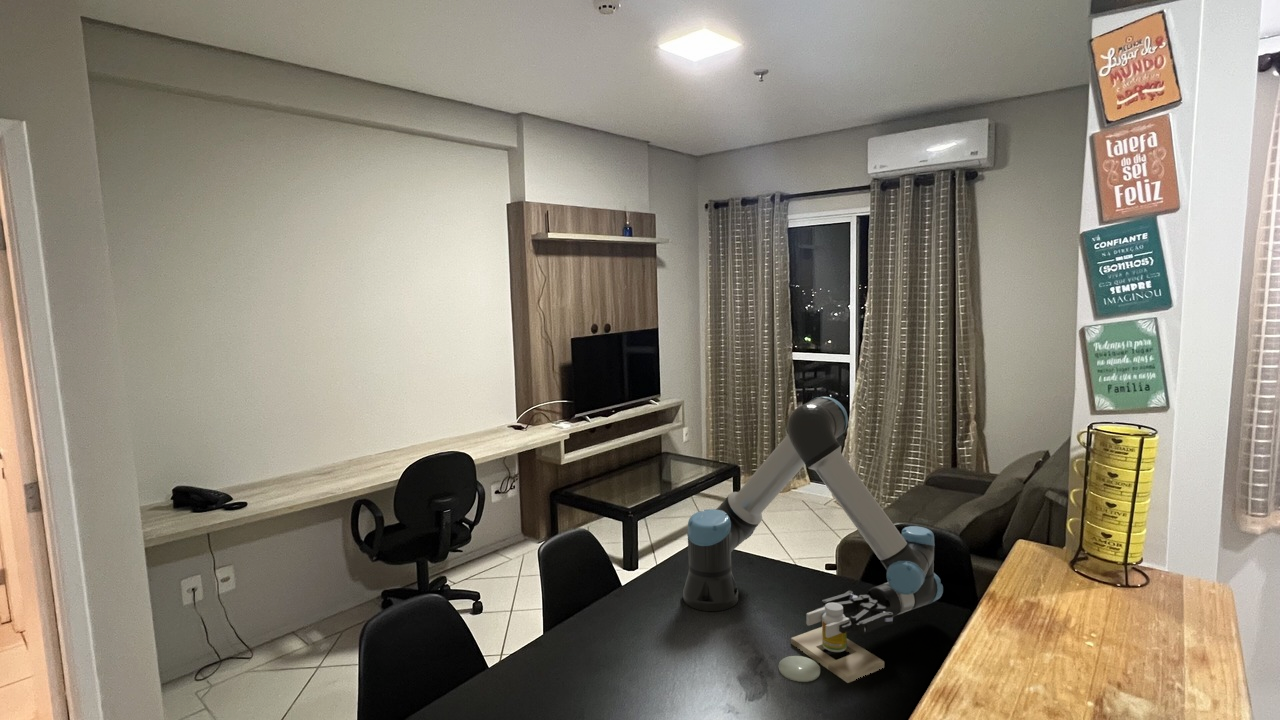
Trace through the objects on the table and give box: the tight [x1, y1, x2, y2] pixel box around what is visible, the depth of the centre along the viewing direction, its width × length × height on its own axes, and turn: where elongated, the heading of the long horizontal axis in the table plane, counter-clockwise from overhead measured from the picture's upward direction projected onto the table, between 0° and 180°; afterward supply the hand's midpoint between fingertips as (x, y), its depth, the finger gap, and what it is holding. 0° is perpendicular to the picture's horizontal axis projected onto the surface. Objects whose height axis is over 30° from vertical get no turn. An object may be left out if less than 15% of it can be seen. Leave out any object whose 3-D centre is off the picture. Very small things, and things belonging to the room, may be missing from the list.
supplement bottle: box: [821, 602, 848, 653], centre depth 147 cm, size 5×5×10 cm
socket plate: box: [790, 626, 885, 684], centre depth 148 cm, size 18×11×2 cm, turn 28°
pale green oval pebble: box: [778, 655, 821, 683], centre depth 143 cm, size 9×9×1 cm
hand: (817, 625), depth 145 cm, fingers closed on supplement bottle, 5 cm apart
